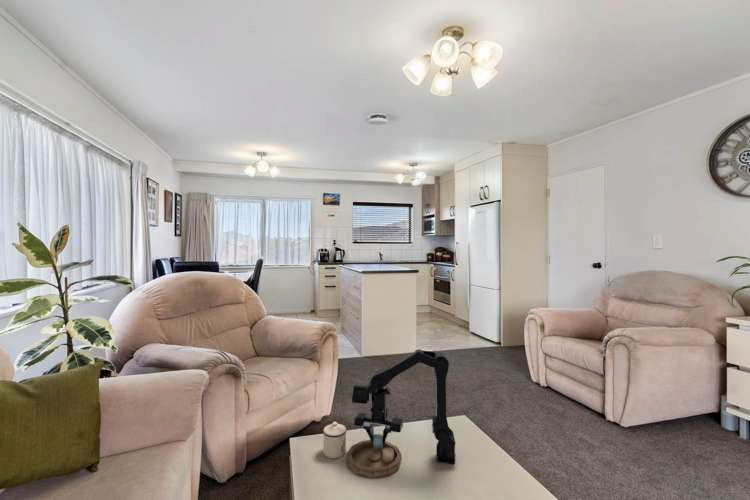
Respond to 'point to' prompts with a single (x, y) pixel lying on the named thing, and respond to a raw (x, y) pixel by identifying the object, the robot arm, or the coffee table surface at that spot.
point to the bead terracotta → (388, 455)
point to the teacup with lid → (334, 440)
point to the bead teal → (378, 441)
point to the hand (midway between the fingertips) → (378, 444)
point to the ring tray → (372, 460)
